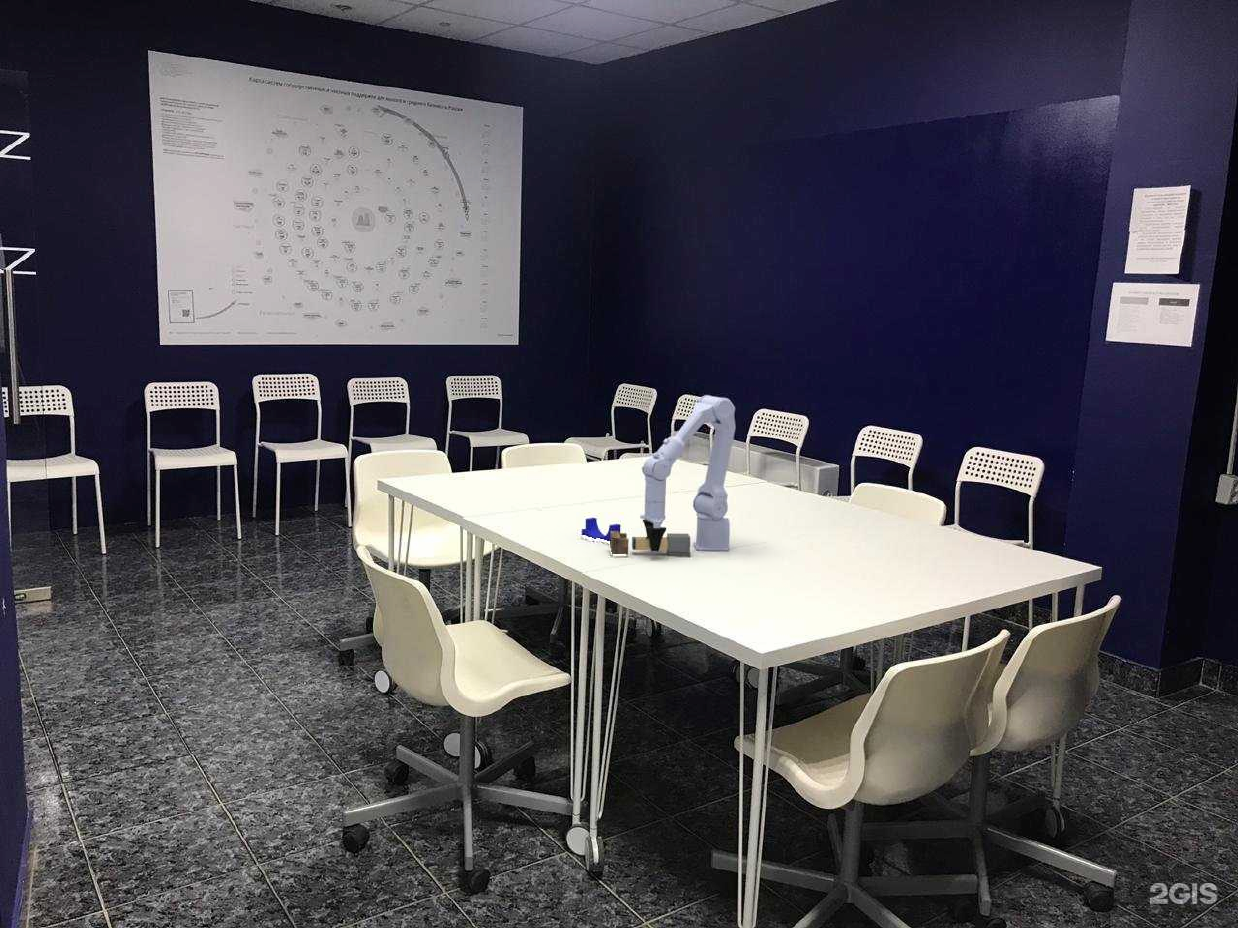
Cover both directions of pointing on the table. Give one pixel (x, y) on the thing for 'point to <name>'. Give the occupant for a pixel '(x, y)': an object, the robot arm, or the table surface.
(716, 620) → the table surface
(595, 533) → the cable clip
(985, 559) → the table surface
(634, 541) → the tube
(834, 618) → the table surface
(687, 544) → the sleeve
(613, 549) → the socket block
